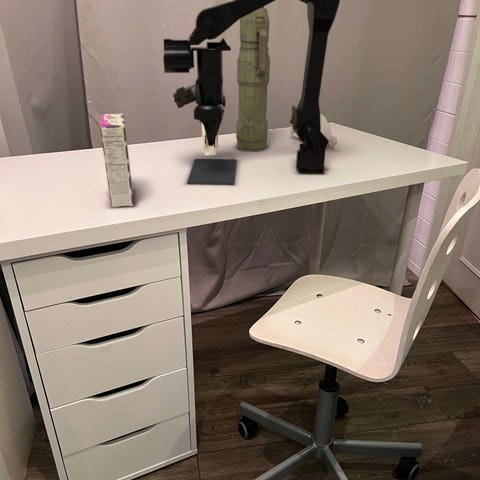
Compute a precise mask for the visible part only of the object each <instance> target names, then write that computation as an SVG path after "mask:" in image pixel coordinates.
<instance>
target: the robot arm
mask: <svg viewBox="0 0 480 480" xmlns="http://www.w3.org/2000/svg"><path fill="white" fill-rule="evenodd" d="M275 1H276V0H230V1H226V2H223V3H219V4H216V5H215V4H214V5H212V6H209V7H205V8H203V9H201V10H200V11H199V12H198V13H197V14H196V17H195V27H194V28H193V30H192V32H191V34H189V37H188V39H172V38H163V56H162V58H163V70H164V71H163V72H164V74H190V70H192V69H194V68H195V54H194V52H196V72H197V73H196V75H197V77H196V79H195V82H194V83H195V84H191V85H189V86H186V87H185V86H181V87H179V88H177V89H176V91H174V92H173V94H172V96H173V101H174V103H175V104H176V106H177V109H181V108H183V107H184V106H186V105H190V104H191V103H194V102H195V105H196V106H195V107H194V109H193V119H194V120H196V121H199V122H201V123H202V124H203V125H204V129H205V133H206V137H207V141H208V145H209V146H213V145H214V142H215V139H216V136H217V133H218V134H219V130H220V127H221V124H222V121H223V118H224V113H225V107H226V98H227V97H226V96H225V95H224V87H223V86H224V85H223V84H224V83H223V82H224V75H223V74H224V73H223V52H230V51H231V50H232V48H231V46H230V45H229V44H228V43H227V42H226V39H225V38H224V37H222V38H221V39H220V40H219V41H212V40H215V39H217V38H219V36H221V35H222V34H223V33H225V32H226V31H227V30H229V29H230V28H231V27H232V26H233V25H234V24H235V23H237V22H238V21H240V18H242V17H244V16H246V15H248V14H250V13H252V12H254V11H256V10H258V9H260V8H262V7H264V8H265V6H267V5H269V4H271V3H274V2H275ZM299 2H302V3H304V4H306V7H307V8H306V10H307V11H306V12H307V22H308V23H307V24H308V41H307V47H306V48H307V49H306V55H305V64H304V72H303V80H302V88H301V95H300V100H299V102H298V104H297V105H291V118H290V120H289V124H290V125H292V126H291V128H293V131H294V134H295V135H296V136H297V137H298V138H299V142H300V143H299V147H298V149H296V154H295V155H296V156H295V168H296V170H297V172H298V174H314V175H315V174H317V175H318V174H320V175H324V174H326V172H325V161H326V151H327V147H328V146H329V144H328V143H329V140H328V139H327V138H326V137H325V136H324V135H323V134H322V133H321V116H320V114H321V109H320V94H321V87H322V81H323V74H324V67H325V60H326V54H327V53H326V52H327V46H328V39H329V34H330V31H331V29H332V27H333V24H334V23H335V19H336V16H337V13H338V9H339V6H340V3H341V0H299ZM206 40H208V41H207V42H206V43H205V44H206V45H205V46H199V45H201V44H202V43H203V42H204V41H206Z"/></svg>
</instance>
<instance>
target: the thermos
mask: <svg viewBox="0 0 480 480" xmlns="http://www.w3.org/2000/svg"><path fill="white" fill-rule="evenodd" d="M269 40H270V17H269V13H268V8H265V6H264V7H262V8H260V9H258V10H256V11H254V12H252V13H250V14H248V15H246V16H244V17H242V18H240V19H239V41H240V44H239V45H240V46H239V52H238V56H237V59H236V81H237V85H238V106H237V107H238V110H237V111H238V112H237V113H238V115H237V121H236V124H235V126H236V127H235V139H236V148H237V150H241V151H245V152H262V151H264V150H266V149H267V140H268V129H269V124H268V120H267V108H268V106H267V105H268V84H269V83H270V73H271V57H270V54H269V46H268V45H269V42H270V41H269Z"/></svg>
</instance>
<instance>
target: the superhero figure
mask: <svg viewBox="0 0 480 480" xmlns="http://www.w3.org/2000/svg"><path fill="white" fill-rule="evenodd" d="M320 116H321V133H322V134H323V135H324V136H325V137H326V138H327V139H328V140H329V143H328V146H329V147H331V148H335V147H336V146H337V144H338V137H336V136H334V135H333V133H332V129H331V125H330V123H329V122H328V121H327V118H326V116H325V115H323V114H322V113H320ZM290 126H291V128H290V137H291V138H294V134H295V132H294V131H293V128H292V124H290Z"/></svg>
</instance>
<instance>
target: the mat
mask: <svg viewBox="0 0 480 480" xmlns="http://www.w3.org/2000/svg"><path fill="white" fill-rule="evenodd" d="M236 170H237V159H236V158H194V160H193V163H192V167H191V169H190V172H189V175H188V177H187V181H186V184H187V185H208V186H209V185H211V186H212V185H213V186H216V185H217V186H219V185H220V186H235V181H236V172H237V171H236Z"/></svg>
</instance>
